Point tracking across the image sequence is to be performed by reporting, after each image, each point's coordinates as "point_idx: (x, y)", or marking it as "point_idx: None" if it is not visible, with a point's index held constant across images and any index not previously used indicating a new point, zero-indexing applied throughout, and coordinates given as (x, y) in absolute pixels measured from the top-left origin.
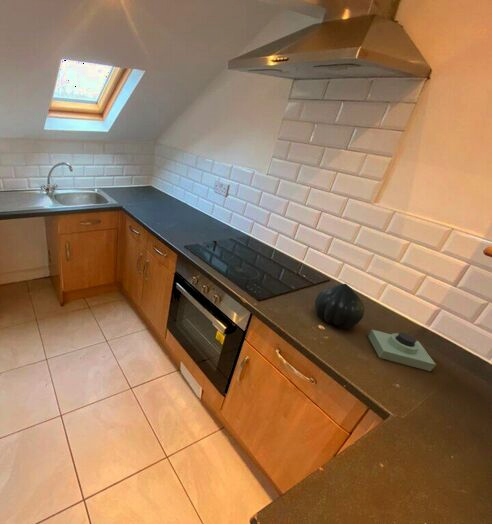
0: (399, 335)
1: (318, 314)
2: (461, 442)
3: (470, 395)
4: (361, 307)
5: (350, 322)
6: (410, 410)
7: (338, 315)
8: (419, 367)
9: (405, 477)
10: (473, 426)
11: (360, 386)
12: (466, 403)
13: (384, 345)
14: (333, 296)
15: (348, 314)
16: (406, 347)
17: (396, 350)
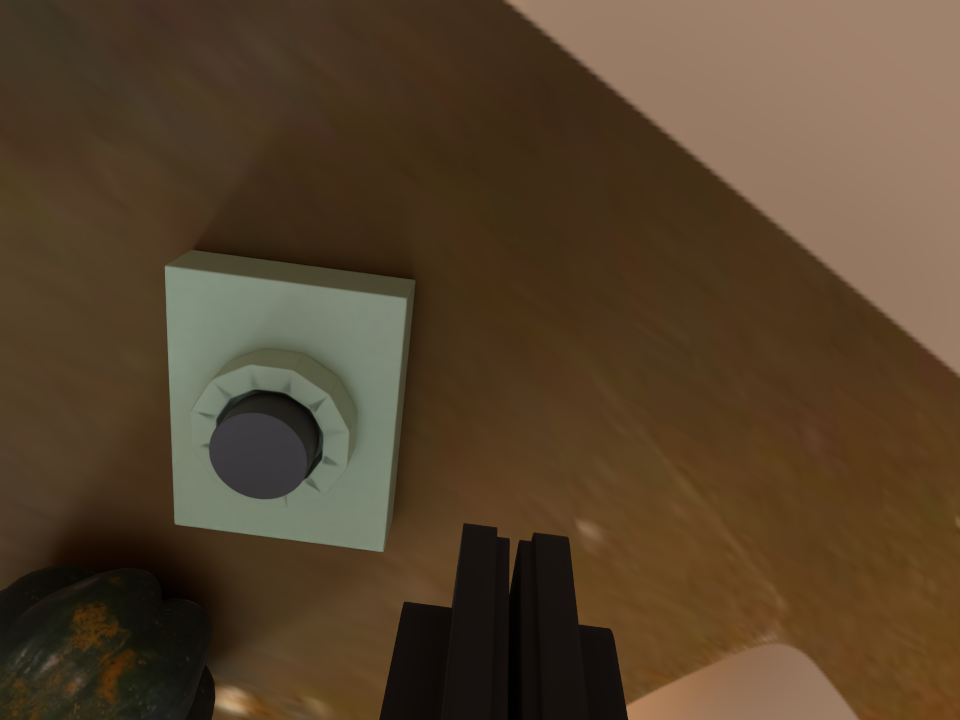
0: (257, 497)
1: None
2: (893, 436)
3: (567, 151)
4: (78, 691)
5: (201, 670)
6: (742, 553)
7: None
8: (409, 343)
9: None
10: (798, 310)
11: (638, 688)
12: (641, 229)
13: (326, 526)
14: None
15: None
16: (343, 467)
17: (351, 479)
